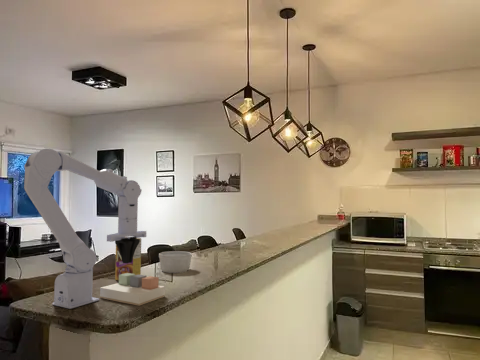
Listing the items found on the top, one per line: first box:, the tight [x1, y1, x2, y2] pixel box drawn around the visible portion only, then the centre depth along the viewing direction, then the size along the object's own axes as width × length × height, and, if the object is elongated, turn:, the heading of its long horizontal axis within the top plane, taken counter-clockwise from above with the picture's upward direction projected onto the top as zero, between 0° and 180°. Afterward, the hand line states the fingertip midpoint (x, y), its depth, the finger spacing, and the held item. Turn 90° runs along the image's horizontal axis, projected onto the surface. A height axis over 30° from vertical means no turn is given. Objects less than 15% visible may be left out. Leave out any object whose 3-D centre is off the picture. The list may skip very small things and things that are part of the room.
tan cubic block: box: [142, 275, 160, 290], centre depth 108 cm, size 3×3×3 cm
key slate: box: [130, 274, 148, 288], centre depth 110 cm, size 3×3×3 cm
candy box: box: [114, 237, 142, 281], centre depth 130 cm, size 9×4×15 cm, turn 60°
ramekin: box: [158, 250, 193, 274], centre depth 148 cm, size 13×13×7 cm
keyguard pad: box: [99, 282, 166, 307], centre depth 108 cm, size 10×16×3 cm
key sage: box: [118, 273, 135, 286], centre depth 112 cm, size 3×3×3 cm
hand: (127, 262), depth 113 cm, fingers closed
